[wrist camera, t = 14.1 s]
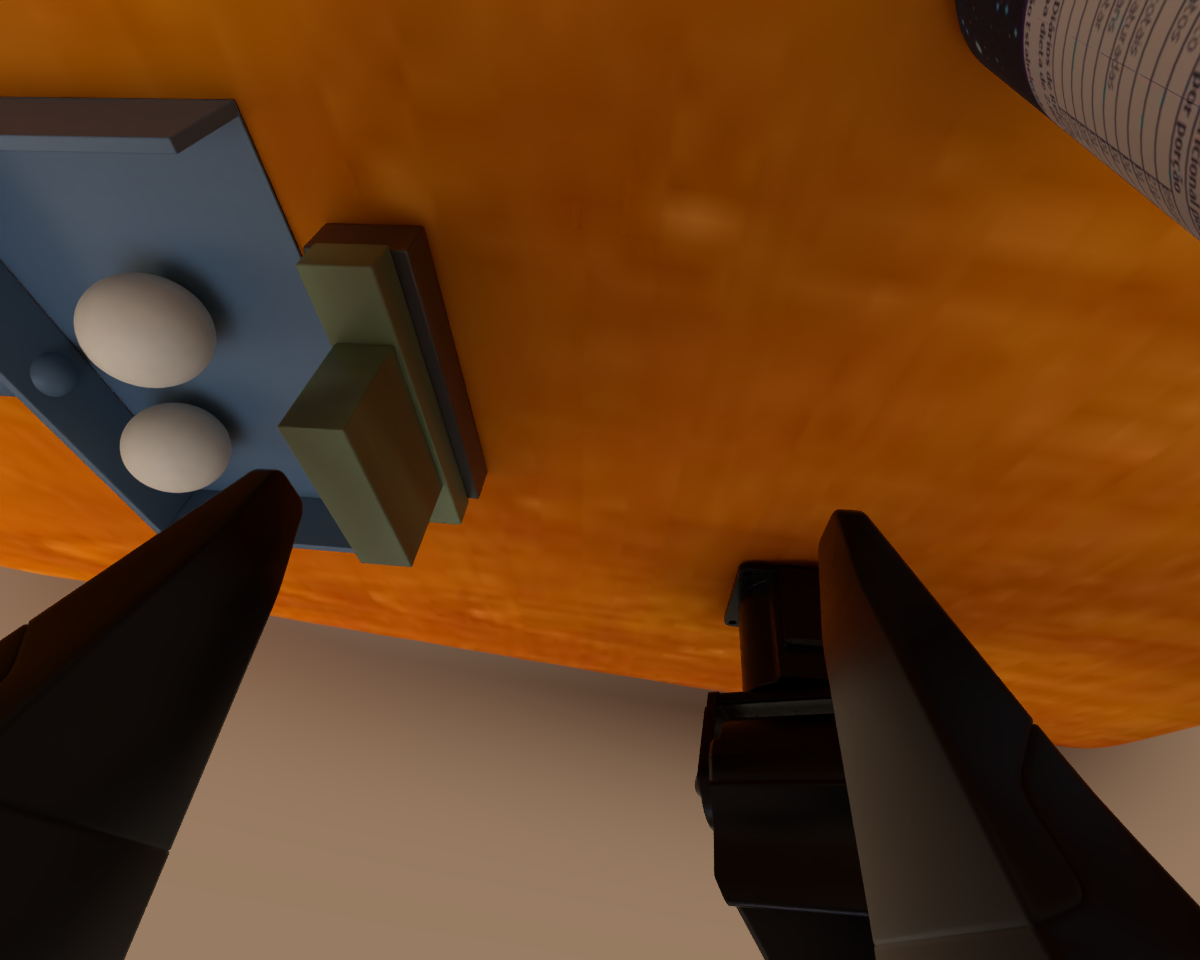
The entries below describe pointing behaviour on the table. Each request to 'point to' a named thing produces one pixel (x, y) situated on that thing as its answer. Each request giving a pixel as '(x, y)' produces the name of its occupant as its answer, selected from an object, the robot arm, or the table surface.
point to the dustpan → (164, 248)
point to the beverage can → (1107, 82)
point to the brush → (383, 394)
